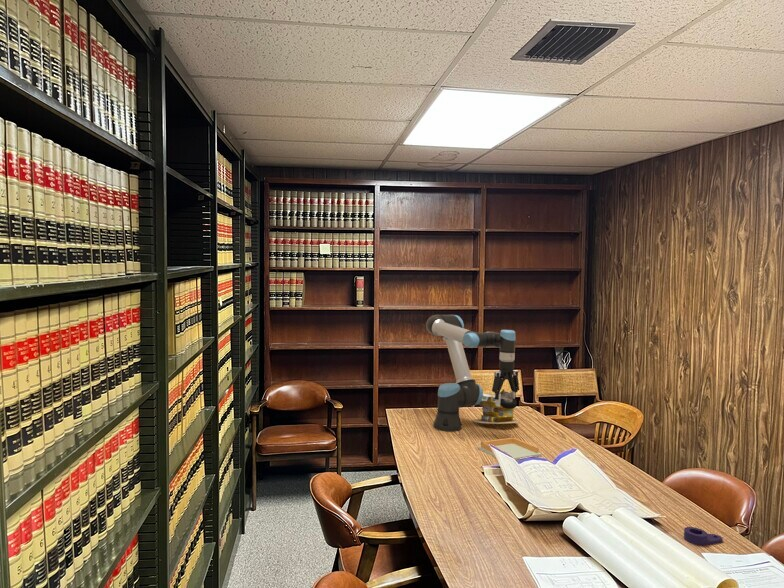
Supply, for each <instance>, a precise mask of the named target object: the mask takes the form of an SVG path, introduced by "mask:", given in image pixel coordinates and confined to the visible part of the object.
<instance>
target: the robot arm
mask: <svg viewBox="0 0 784 588" xmlns="http://www.w3.org/2000/svg"><path fill="white" fill-rule="evenodd" d="M425 327H426V331H427V332H428V333H429V334H431V335H432V336H436V337H440V336H441V337H442V340H443V341H444V342H445V344H446V346H447V350H448V354H449V358H450V362H451V364H452V369H453V372H454V373H453V374H454V377H455V380H456V381H455V382H447V383H443V384H440V385H439V387H438V389H437V411H436V415H435V419H434V421H433V428H434V429H436V430H438V431H442V432H443V431H444V432H458V431H461V430H462V429H463V427H462V426H463V424H462V421H461V417H460V408H467V407H475V406H478V405H479V403H480V402H481V401H482V398H483V394H484V391H483V387H482V386H481V385H480V384H478V383H476V379H475V378H473V377H472V375H471V374H472V373H471V370H470V367H469V364H468V360H467V356H466V353H465V349H464V346H465V347H466V348H471V349H473V348H474V349H475V348H491V347H492V348H493V347H494V348H499V361H498V364H499V365H498V368H499V371H495V372H494V374H493V375H494V378H493V381H492V382H493V383H492V388H491V391H492V392H493V393H494V395H495V399H496V406H499V407H500V400H501V394H500V392H501V391H502V388H503V385H504V382H506V380H507V382H508V385H509V388H510V390H511V391H509V393H512V394H513V398H514V399H515V400H516V394H517V393H518V391H520V385H519V378H518V377H519V371H517V370H514V369H515V358H516V357H515V356H516V355H515V354H516V353H515V352H516V338H517V337H516V331H515V330H513V329H501V330H500V332H495V331H486V332H485V331H484V332H478V331H477V332H476V331H472V330H469V329H466V328H465V324H464V321H463V319H462V318H461V317H460V316H459V315H457V314H434V315H431V316H430V317H429V318H428V319H427V320H426V322H425ZM463 345H464V346H463Z"/></svg>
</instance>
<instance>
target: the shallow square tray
mask: <svg viewBox="0 0 784 588" xmlns="http://www.w3.org/2000/svg"><path fill="white" fill-rule="evenodd" d="M489 444H492V445H494V446H496V447H497V448H499V449H501V451H503V452H504V451H505V453H508V454H509V455H511V456H512V457H513V458H515V459H520V458H523V457H529V456H541V457H542V453H540V452H539V450H540V449H539V447H538V446H535V445H533V444H531V443H528V442H525V441H523V440H521V439H519V438H516V437H507V438H500V439H494V440H493V439H492V440H486V441H481V442H480V445H478V446H477V450H479V451H482V452H483V453H486V454H487V455H489V456H491V457H494V455H493V452H492V450H491V448H490V446H489Z"/></svg>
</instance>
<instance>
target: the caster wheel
mask: <svg viewBox="0 0 784 588" xmlns="http://www.w3.org/2000/svg"><path fill="white" fill-rule="evenodd" d="M500 394H501V400H500V406H502V407H504V408H507V409H513V408H514V409H515V408H516V407H517V400H516V398H515V399H514V398H513V394H512V393H510V391H505V388H504V389H501V390H500Z"/></svg>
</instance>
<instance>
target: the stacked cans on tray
mask: <svg viewBox="0 0 784 588" xmlns="http://www.w3.org/2000/svg"><path fill="white" fill-rule="evenodd" d="M478 405H479V406H481V408H482V415H480V416H481V417H480V418H477V419H474V420H473V422H475V423H480V424H491V425H492V424H494V425H495V427H497V425H499V424H515V423H518V422H520V421H519V420H517V419H514V412H515V408H513V409H507V408H504V407H502V406H500V407H499V406H496V399H495V394H487V393H483V398H482V401H481V402H480V403H479V404H478Z"/></svg>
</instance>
